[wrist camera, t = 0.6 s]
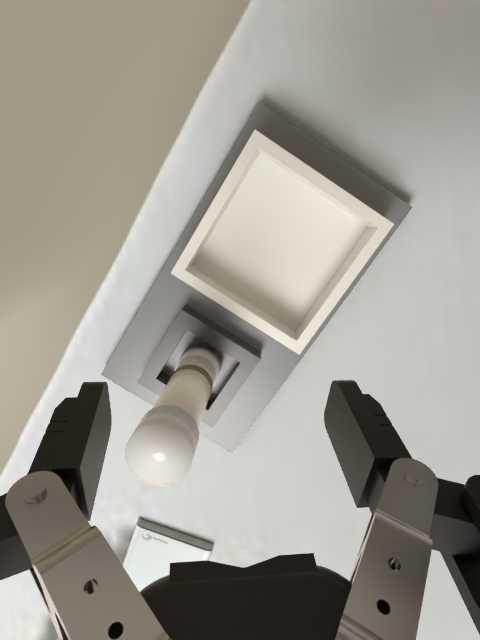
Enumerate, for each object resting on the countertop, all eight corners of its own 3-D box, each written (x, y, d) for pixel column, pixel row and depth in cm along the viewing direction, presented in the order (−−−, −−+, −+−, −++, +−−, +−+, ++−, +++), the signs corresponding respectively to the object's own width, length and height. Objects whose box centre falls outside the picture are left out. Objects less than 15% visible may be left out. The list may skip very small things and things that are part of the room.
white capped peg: (208, 336, 34) (168, 415, 21) (229, 371, 35) (203, 469, 21) (173, 355, 35) (112, 443, 21) (194, 388, 35) (148, 495, 22)
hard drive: (135, 525, 40) (105, 614, 43) (212, 552, 40) (176, 639, 43) (140, 513, 41) (111, 600, 45) (214, 539, 42) (179, 624, 45)
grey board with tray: (259, 106, 30) (257, 87, 26) (407, 207, 31) (428, 206, 27) (106, 369, 37) (85, 389, 33) (233, 446, 38) (229, 475, 34)
